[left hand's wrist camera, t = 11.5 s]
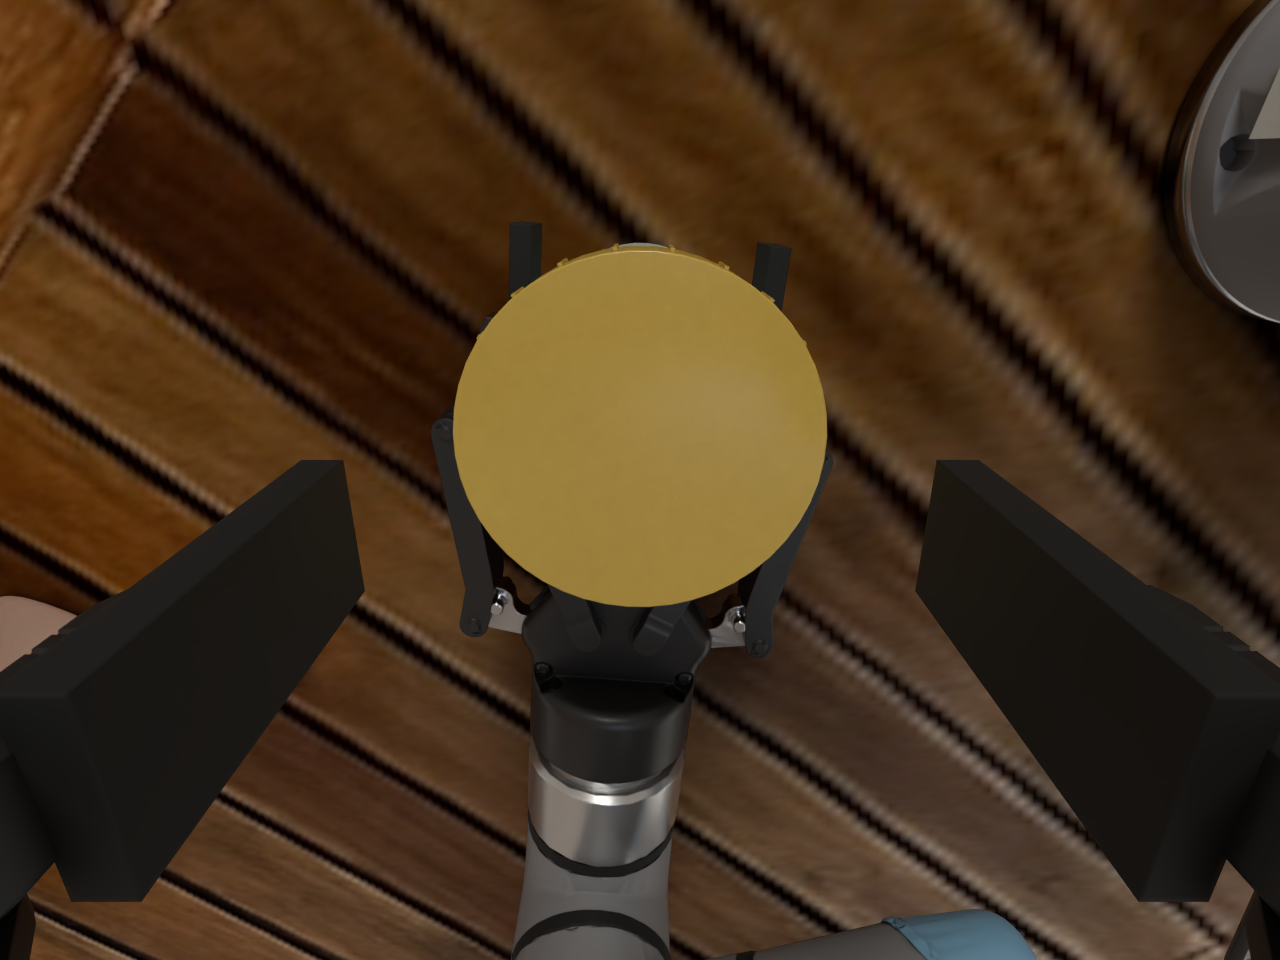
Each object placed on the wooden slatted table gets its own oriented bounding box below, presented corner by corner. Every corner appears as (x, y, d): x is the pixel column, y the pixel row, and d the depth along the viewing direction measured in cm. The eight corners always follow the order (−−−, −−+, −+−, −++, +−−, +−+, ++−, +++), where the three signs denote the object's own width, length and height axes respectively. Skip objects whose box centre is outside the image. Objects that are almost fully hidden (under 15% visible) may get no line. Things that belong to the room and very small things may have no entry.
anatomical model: (-126, 623, 34) (119, 666, 35) (-50, 582, 38) (169, 622, 38) (-85, 823, 39) (129, 856, 39) (-21, 769, 42) (173, 801, 43)
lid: (882, 410, 19) (909, 431, 17) (650, 628, 22) (651, 668, 20) (626, 158, 17) (624, 151, 15) (401, 435, 20) (375, 460, 18)
